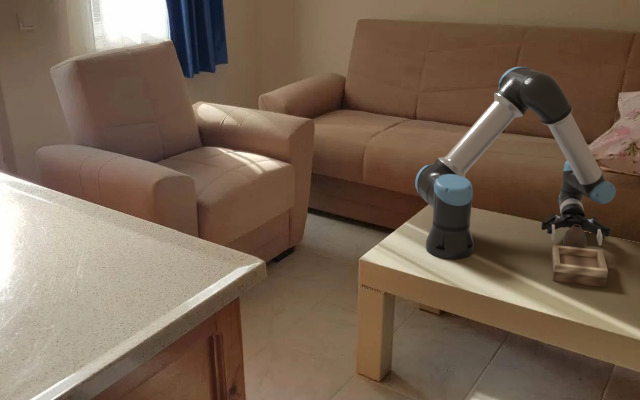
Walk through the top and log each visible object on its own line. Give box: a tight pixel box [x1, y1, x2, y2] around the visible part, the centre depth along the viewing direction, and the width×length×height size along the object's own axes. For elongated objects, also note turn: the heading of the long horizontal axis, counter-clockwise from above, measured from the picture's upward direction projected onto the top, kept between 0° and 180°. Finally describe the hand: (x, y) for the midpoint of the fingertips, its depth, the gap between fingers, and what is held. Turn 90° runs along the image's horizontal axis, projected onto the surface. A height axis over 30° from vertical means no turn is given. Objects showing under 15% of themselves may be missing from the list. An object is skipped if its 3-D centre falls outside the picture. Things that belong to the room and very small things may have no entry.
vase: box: [562, 224, 588, 248], centre depth 196 cm, size 7×7×9 cm
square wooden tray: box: [550, 244, 609, 288], centre depth 183 cm, size 14×14×5 cm
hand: (576, 239), depth 192 cm, fingers open, 13 cm apart
